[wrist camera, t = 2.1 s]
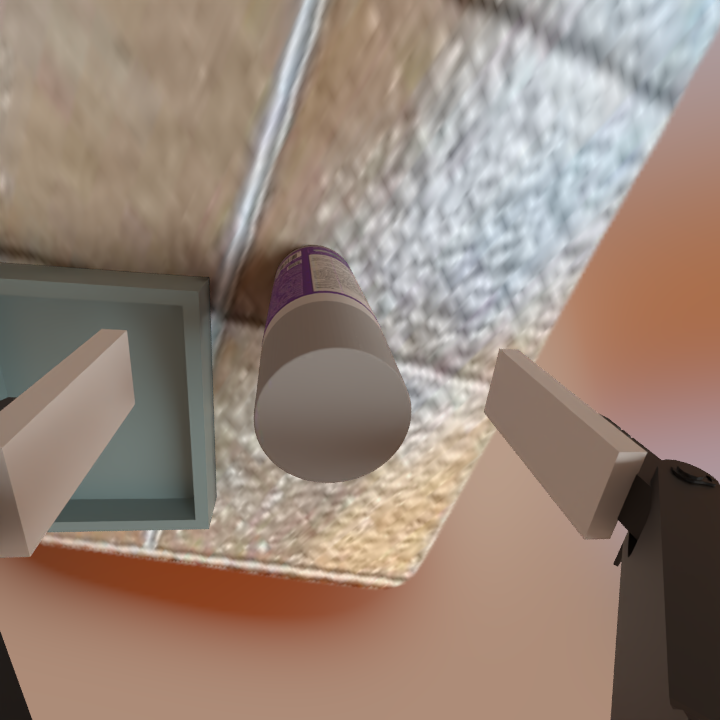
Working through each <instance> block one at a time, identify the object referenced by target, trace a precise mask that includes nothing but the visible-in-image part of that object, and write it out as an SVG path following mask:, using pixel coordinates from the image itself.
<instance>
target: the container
mask: <svg viewBox="0 0 720 720" xmlns="http://www.w3.org/2000/svg"><path fill="white" fill-rule="evenodd" d="M410 421H411V402H410V397H409V393H408V391H407V388H406V386H405V383H404V381H403V379H402V376H401V374H400V372H399V369H398V367H397V365H396V363H395V360H394V358H393V356H392V353H391V351H390V349H389V346H388V344H387V342H386V339H385V337H384V335H383V332H382V330H381V327H380V325H379V323H378V321H377V319H376V317H375V315H374V313H373V312H372V310H371V308H370V306H369V304H368V302H367V300H366V298H365V296H364V294H363V292H362V290H361V288H360V286H359V285H358V283H357V281H356V279H355V277H354V275H353V273H352V271H351V269H350V267H349V266H348V264H347V263H346V261H345V260H344V259H343V258H342V257H341V256H340V255H339V254H338V253H336V252H335V251H333V250H331V249H329V248H327V247H323V246H317V245H310V246H304V247H301V248H298V249H296V250H294V251H292V252H291V253H290V254H288V255H287V256H286V257H285V258H284V259H283V261H282V262H281V264H280V265H279V267H278V269H277V272H276V275H275V280H274V285H273V290H272V295H271V300H270V305H269V310H268V316H267V321H266V326H265V331H264V336H263V341H262V351H261V359H260V368H259V376H258V384H257V393H256V401H255V409H254V428H255V433H256V436H257V439H258V441H259V444H260V446H261V448H262V449H263V451H264V452H265V454H266V455H267V456H268V457H269V459H270V460H271V461H272V462H273V463H274V464H276V465H277V466H278V467H279V468H281V469H282V470H284V471H285V472H287V473H289V474H291V475H293V476H296V477H298V478H301V479H304V480H308V481H313V482H322V483H335V482H344V481H348V480H352V479H356V478H359V477H361V476H364V475H366V474H368V473H370V472H372V471H374V470H376V469H377V468H379V467H380V466H382V465H383V464H384V463H385V462H387V461H388V460H389V459H390V458H391V457H392V456H393V455H394V454H395V452H396V451H397V450H398V449H399V447H400V446H401V444H402V443H403V441H404V439H405V437H406V434H407V432H408V429H409V425H410Z"/></svg>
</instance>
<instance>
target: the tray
mask: <svg viewBox="0 0 720 720" xmlns="http://www.w3.org/2000/svg"><path fill="white" fill-rule="evenodd" d="M101 329H112V330H127V335H128V344H129V353H130V362H131V371H132V380H133V389H134V398H135V405H134V406H133V408H132V409H131V411H130V412H129V414H128V415H127V417H126V418H125V419H124V421H123V422H122V424H121V425H120V427H119V428H118V430H117V431H116V433H115V434H114V435H113V437H112V438H111V440H110V441H109V443H108V444H107V446H106V447H105V449H104V450H103V451H102V453H101V454H100V456H99V457H98V459H97V460H96V462H95V463H94V464H93V466H92V467H91V469H90V470H89V472H88V473H87V475H86V476H85V478H84V479H83V480H82V482H81V483H80V485H79V486H78V488H77V489H76V491H75V492H74V494H73V495H72V496H71V498H70V499H69V501H68V502H67V504H66V505H65V507H64V508H63V510H62V511H61V512H60V514H59V515H58V517H57V518H56V520H55V521H54V523H53V524H52V525H51V527H50V528H49V530H48V531H47V532H84V531H133V530H181V529H209V526H210V522H211V518H212V514H213V510H214V506H215V501H216V497H217V495H216V465H215V436H214V406H213V377H212V347H211V317H210V288H209V277H195V276H181V275H167V274H153V273H139V272H125V271H111V270H97V269H83V268H69V267H55V266H41V265H27V264H13V263H0V400H3V399H5V398H7V397H19V396H20V395H21V394H22V393H23V392H25V391H26V390H27V389H28V388H30V387H31V386H32V385H33V384H35V383H36V382H37V381H38V380H39V379H41V378H42V377H43V376H44V375H46V374H47V373H48V372H49V371H51V370H52V369H53V368H54V367H55V366H57V365H58V364H59V363H60V362H62V361H63V360H64V359H65V358H67V357H68V356H69V355H70V354H71V353H73V352H74V351H75V350H76V349H78V348H79V347H80V346H81V345H83V344H84V343H85V342H86V341H87V340H89V339H90V338H91V337H92V336H94V335H95V334H96V333H97V332H99V331H100V330H101Z"/></svg>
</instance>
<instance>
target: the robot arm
mask: <svg viewBox="0 0 720 720" xmlns="http://www.w3.org/2000/svg"><path fill="white" fill-rule="evenodd" d="M134 405H135V398H134V389H133V380H132V371H131V362H130V353H129V344H128V335H127V330H112V329H101V330H100V331H99V332H97V333H96V334H95V335H94V336H92V337H91V338H90V339H89V340H87V341H86V342H85V343H84V344H83V345H81V346H80V347H79V348H78V349H76V350H75V351H74V352H73V353H71V354H70V355H69V356H68V357H67V358H65V359H64V360H63V361H62V362H60V363H59V364H58V365H57V366H55V367H54V368H53V369H52V370H51V371H49V372H48V373H47V374H46V375H44V376H43V377H42V378H41V379H39V380H38V381H37V382H36V383H35V384H33V385H32V386H31V387H30V388H28V389H27V390H26V391H25V392H23V393H22V394H21V395H20V396H19V397H7V398H5V399H3V400H0V558H5V557H30V556H31V554H32V553H33V552H34V550H35V549H36V547H37V546H38V544H39V543H40V541H41V540H42V539H43V537H44V536H45V534H46V533H47V531H48V530H49V528H50V527H51V525H52V524H53V523H54V521H55V520H56V518H57V517H58V515H59V514H60V512H61V511H62V510H63V508H64V507H65V505H66V504H67V502H68V501H69V499H70V498H71V496H72V495H73V494H74V492H75V491H76V489H77V488H78V486H79V485H80V483H81V482H82V480H83V479H84V478H85V476H86V475H87V473H88V472H89V470H90V469H91V467H92V466H93V464H94V463H95V462H96V460H97V459H98V457H99V456H100V454H101V453H102V451H103V450H104V449H105V447H106V446H107V444H108V443H109V441H110V440H111V438H112V437H113V435H114V434H115V433H116V431H117V430H118V428H119V427H120V425H121V424H122V422H123V421H124V419H125V418H126V417H127V415H128V414H129V412H130V411H131V409H132V408H133V406H134ZM484 413H485V414H486V415H487V417H488V418H489V419H490V421H491V422H492V423H493V424H494V426H495V427H496V428H497V429H498V431H499V432H500V433H501V434H502V436H503V437H504V438H505V440H506V441H507V442H508V443H509V445H510V446H511V447H512V448H513V450H514V451H515V452H516V454H517V455H518V456H519V457H520V459H521V460H522V461H523V462H524V464H525V465H526V466H527V467H528V469H529V470H530V471H531V472H532V474H533V475H534V476H535V478H536V479H537V480H538V481H539V483H540V484H541V485H542V487H543V488H544V489H545V490H546V491H547V493H548V494H549V495H550V497H551V498H552V499H553V501H554V502H555V503H556V504H557V506H558V507H559V508H560V509H561V511H562V512H563V513H564V514H565V516H566V517H567V518H568V520H569V521H570V522H571V523H572V525H573V526H574V527H575V528H576V530H577V531H578V532H579V533H580V535H581V536H582V537H583V539H610V538H611V535H612V533H613V530H614V528H615V526H616V524H617V521H618V520H619V521H620V522H621V524H623V526H625V528H626V529H627V530H628V533H627V535H626V537H625V540H624V541H623V544H622V546H621V548H620V551H619V553H618V555H617V557H616V559H615V561H614V565H616V566H618V565H619V564H620V562H622V564H621V578H620V593H619V607H618V622H617V623H618V624H617V636H616V651H615V665H614V679H613V695H612V709H611V720H720V484H719V483H718V481H717V480H716V479H714V477H712V476H711V475H710V474H708V473H706V472H705V471H703V470H701V469H699V468H697V467H695V466H693V465H690V464H687V463H684V462H680V461H677V460H661V459H659V458H658V457H657V456H656V455H654V454H653V453H652V452H650V451H649V450H648V449H647V448H645V447H644V446H643V445H642V444H640V443H639V442H638V441H636V440H635V439H634V438H631V437H630V435H629V434H628V433H626V432H625V431H624V430H621V428H620V427H619V426H617V425H616V424H615V423H613V422H612V421H611V420H610V419H608V418H606V417H604V416H602V415H601V414H599V413H597V412H596V411H595V410H593V409H592V408H591V407H589V406H588V405H587V404H586V403H584V402H583V401H582V400H581V399H580V398H578V397H577V396H576V395H575V394H573V393H572V392H571V391H569V390H568V389H567V388H566V387H564V386H563V385H562V384H560V383H559V382H558V381H557V380H556V379H554V378H553V377H552V376H551V375H549V374H548V373H547V372H546V371H544V370H543V369H542V368H541V367H539V366H538V365H537V364H536V363H534V362H533V361H532V360H531V359H529V358H528V357H527V356H525V355H524V354H523V353H522V352H520V351H519V350H515V349H499V353H498V357H497V361H496V365H495V369H494V373H493V377H492V381H491V385H490V389H489V393H488V397H487V401H486V405H485V409H484ZM0 720H32V718H31V715H30V713H29V710H28V707H27V704H26V701H25V699H24V696H23V693H22V690H21V687H20V685H19V682H18V679H17V677H16V674H15V671H14V668H13V666H12V663H11V660H10V657H9V655H8V652H7V649H6V646H5V644H4V641H3V638H2V635H1V632H0Z"/></svg>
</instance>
